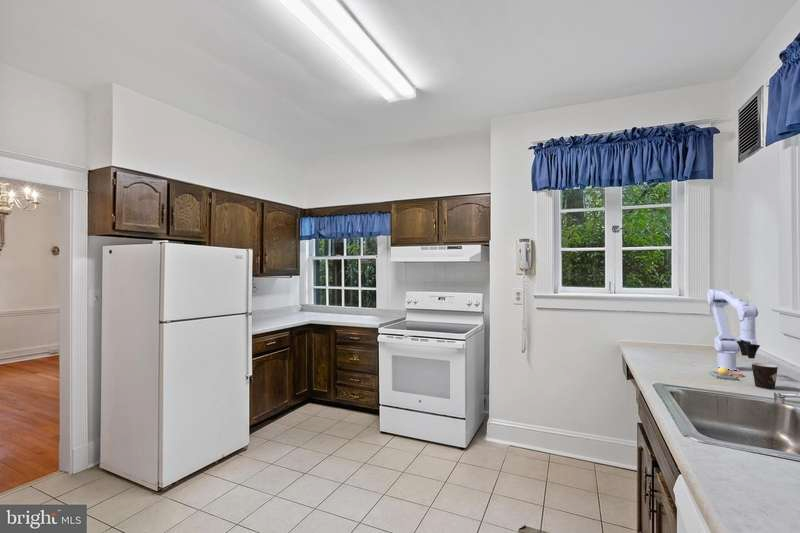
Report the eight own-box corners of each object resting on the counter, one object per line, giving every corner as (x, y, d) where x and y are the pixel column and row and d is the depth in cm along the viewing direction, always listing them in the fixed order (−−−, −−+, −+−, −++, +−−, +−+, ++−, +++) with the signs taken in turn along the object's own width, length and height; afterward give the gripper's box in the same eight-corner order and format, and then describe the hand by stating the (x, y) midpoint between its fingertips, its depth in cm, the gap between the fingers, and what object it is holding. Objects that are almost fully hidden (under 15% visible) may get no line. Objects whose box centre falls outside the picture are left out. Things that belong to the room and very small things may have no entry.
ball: (716, 374, 192) (716, 365, 192) (727, 375, 190) (727, 366, 190) (719, 376, 188) (719, 367, 188) (731, 377, 186) (730, 368, 186)
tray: (710, 373, 195) (709, 371, 195) (729, 375, 192) (729, 372, 192) (717, 378, 186) (717, 375, 186) (737, 380, 183) (737, 377, 183)
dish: (718, 372, 199) (718, 369, 199) (739, 374, 196) (739, 371, 196) (725, 375, 192) (725, 373, 192) (746, 377, 188) (746, 374, 188)
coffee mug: (766, 385, 175) (766, 363, 175) (783, 390, 167) (783, 367, 167) (739, 383, 176) (739, 362, 177) (755, 389, 168) (754, 366, 168)
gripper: (731, 327, 199) (732, 353, 199) (743, 330, 186) (743, 358, 186) (749, 328, 197) (749, 354, 196) (762, 331, 183) (762, 360, 183)
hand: (747, 356), depth 191 cm, fingers open, 7 cm apart
